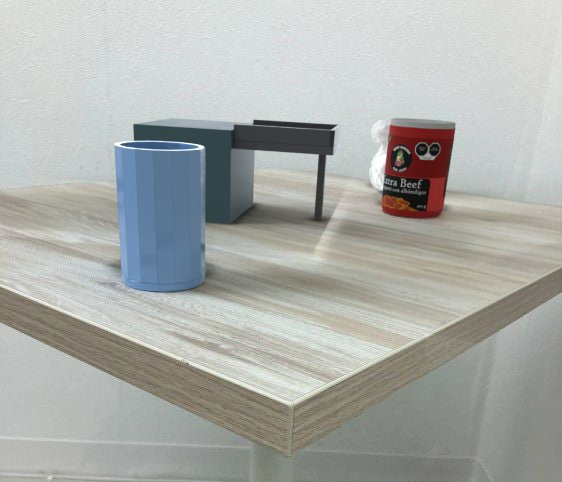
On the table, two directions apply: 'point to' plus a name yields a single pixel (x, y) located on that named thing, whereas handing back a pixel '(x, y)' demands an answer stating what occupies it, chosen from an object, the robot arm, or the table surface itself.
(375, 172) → the bust
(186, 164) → the cylindrical container
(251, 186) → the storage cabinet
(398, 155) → the canned food
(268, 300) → the table surface
